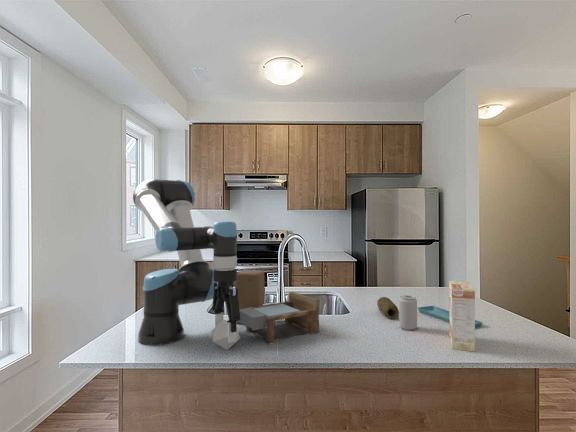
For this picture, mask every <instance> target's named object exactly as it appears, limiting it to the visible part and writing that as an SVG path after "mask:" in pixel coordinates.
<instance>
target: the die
mask: <svg viewBox="0 0 576 432" xmlns="http://www.w3.org/2000/svg"><path fill="white" fill-rule="evenodd" d="M227 321H228V320H226V319H224V320H223V321H222V322H221V323H219V324H218V325H217V326H216V327H215V326H214V328H213V329H212V330H211V336H212V342H213V343H214V344H215V346H216V347H219V348H221V349H224V350H229V349H230V348H231V347H232V346H233V345H235V344H236V343H237V342H238V341H239V340H240V338H241V337H240V334H239V331H238V328H237V341H235V342H231V343H228V322H227Z"/></svg>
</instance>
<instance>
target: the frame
mask: <svg viewBox="0 0 576 432" xmlns="http://www.w3.org/2000/svg"><path fill="white" fill-rule="evenodd" d="M288 293H289V294H288V299H289V300H285V301H282V302H276V303H269V304H265V305H262V306H256V307H248V308H251V309H254V308H260V307H266V306H272V305H278V304H284V305H287V306H290V307H292V308H295V309H298V310H300V312H295V313H289V314H284V315H279V316H273V317H268V316H266V327H264V328H259V329H254V330H253V329H251V328H249V327H248V326H246V325H245V331H246V332H248V333H251V332H252V333H254V334H255V335H258V336H259V337H261V338H263V339H265V341H266V343H267V344H269V345H272V344H275V341H278V340H279V341H280V340H283V339H288V338H292V337H296V336H301V335H307V334H309V335H316V334H319V333H320V299H318V298H317V299H316V298H314V297H312V296H307V295H304V294H301V293H297V292H295V291H289V292H288ZM280 320H284V323H282V324H277V325H275V322H277V321H280Z"/></svg>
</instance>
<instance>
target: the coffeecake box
mask: <svg viewBox="0 0 576 432" xmlns="http://www.w3.org/2000/svg"><path fill="white" fill-rule="evenodd" d="M448 283H449V285H448V289H449V295H448V300H449V302H448V303H449V307H448V308H449V309H448V311H449V323H448V324H449V331H448V332H449V335H448V336H449V342H450V346H451V349H452V350H458V351H467V352H476V327H475V320H476V290H475V288H474V286H473V284H472V282H470V281H464V280H463V281H462V280H449V281H448Z"/></svg>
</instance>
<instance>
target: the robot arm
mask: <svg viewBox="0 0 576 432" xmlns="http://www.w3.org/2000/svg"><path fill="white" fill-rule="evenodd" d="M194 190H195V189H194V188H193V186H192V184H191V183H190V182H188V181H185V180H180V179H177V180H176V179H175V180H172V179H170V180H169V179H156V178H155V179H154V178H151V179H146V180H144V181H142V182H141V183H139V184H138V185H137V186H136V187H135V189H134V191H133V193H132V200H133V204H134V205H135V207H136V209H137V210H139V211H140V212H142V213H143V214H144V216H145V217H146V219H147V220H148V221H149V222H150V224H151V226H152V227H153V229H154V230H155V236H154V237H155V238H154V241H155V245H156V249H157V250H158V251H160V252H170V253H171V252H176V251H177V255H178V260H179V263H180V267H179V268H178V269H177V268H168V269H167V268H165V269H159V270H156V271H152V272H149V273H147V274H146V275H145V276H144V279H143V286H142V291H143V319H142V321H141V324H140V327H139V331H138V335H137V336H138V337H137V338H138V339H137V341H138V342H139V343H141V344H145V345H151V346H152V345H156V346H157V345H165V344H170V343H175V342H177V341H180V340H181V339H183V338H184V336H185V335H184V334H185V330H184V329H185V328H184V325H183V323H182V320H181V317H180V315H179V313H180V312H179V311H180V310H179V307H180V306H181V305H188V304H189V305H190V304H195V303H203V302H207V301H211V300H212V308H211V310H212V311H213V313H214V314H215V315H214V321H215V322H214V328H215V327H216V326H217V325H218V324H219V323H221V322H222V321H223V320H225V319H224V318H225V317H224V312H225V310H224V305H225V306H226V311H227V316H228V320H226V321H227V322H228V343H231V342H235V341H237V329H238V326H237V325H238V324H237V321H239V320H240V311H239V302H238V289H237V288H235V287H234V284H233V283H235V281H236V280H237V273H238V270H237V267H238V265H237V263H238V257H237V254H238V248H237V247H238V232H237V223H236V222H235V221H215V222H214V223H213V226H209V225H208V226H198V227H197V226H194V222H193V218H192V214H191V211H192V209H193V206H194V204H195V199H196V197H195V195H196V194H195V191H194ZM209 249H210V250H213V259H212V260H213V263H212V265H213V268H210V264H209V262H208V261H206V260H204V258H203V255H202V251H201V250H209ZM237 342H238V341H237ZM235 343H236V342H235Z"/></svg>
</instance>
